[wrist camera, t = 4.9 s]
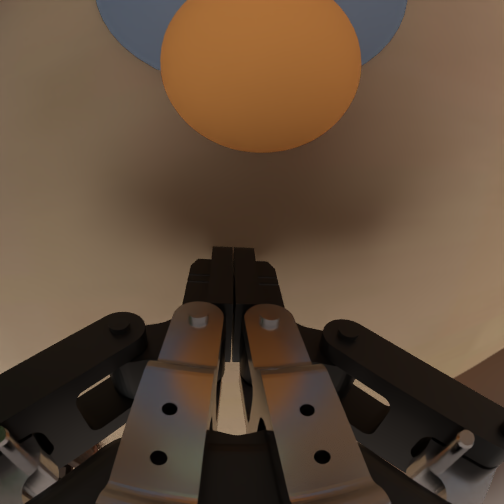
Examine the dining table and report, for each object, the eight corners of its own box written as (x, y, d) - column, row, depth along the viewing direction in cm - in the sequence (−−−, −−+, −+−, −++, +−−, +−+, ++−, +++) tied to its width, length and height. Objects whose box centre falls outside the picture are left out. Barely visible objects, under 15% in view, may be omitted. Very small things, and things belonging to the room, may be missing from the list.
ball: (155, -64, 3) (200, 5, 8) (112, 152, 6) (178, 135, 11) (401, -31, 4) (344, 25, 9) (370, 189, 6) (322, 156, 11)
